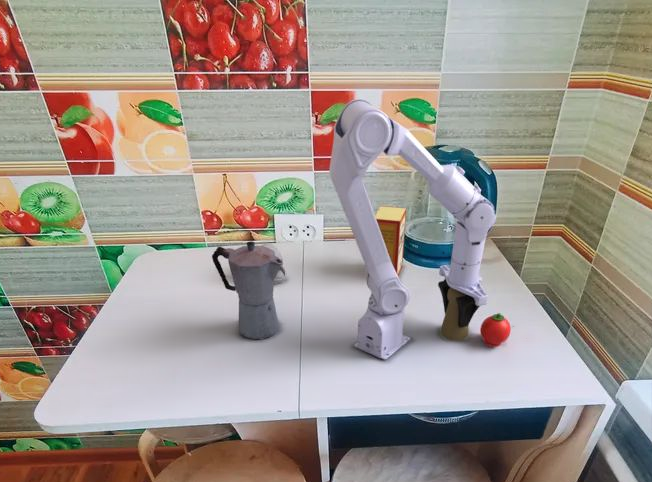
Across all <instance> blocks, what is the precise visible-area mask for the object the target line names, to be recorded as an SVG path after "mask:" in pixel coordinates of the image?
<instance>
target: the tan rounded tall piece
mask: <svg viewBox="0 0 652 482" xmlns="http://www.w3.org/2000/svg"><path fill="white" fill-rule="evenodd" d="M465 295H466V294H465V293H462V292H460V291H458V290H456V289H453V288H451V287H450V288H449V290H448V294H447V297H448V300H449V303H448V307H447V310H446V313H445V312H444V317H443V321H442V324H441V327H440V330H439V334H440V335H441V337H443V338H444V339H445V340H449V341H452V342H460V341H464V340H466V339H467V338H468V337H469V325H470V324H469V325H468V326H465V327H461V328H460V327H459V326H458V304H457V301H456V298H457V297H462V296H465Z"/></svg>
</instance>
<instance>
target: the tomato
mask: <svg viewBox="0 0 652 482" xmlns="http://www.w3.org/2000/svg"><path fill="white" fill-rule="evenodd" d="M479 330H480V335H481V338H482V340H483V342H484V344H485V345H487V346H489V347H494V348H496V347H499V346H501V345H502V343H504V342H506V340H508V338H509V337H510V336H511V331H512V328H511V324H510V322H509V321H508V319H507V318H506V317H505V316H504V315H503V314H501V313H499V312H498V313H495V314H493V315H490V316H488V317H487V318H485V319H484V320H483V321H482V323H481V325H480V329H479Z"/></svg>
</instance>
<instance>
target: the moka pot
mask: <svg viewBox="0 0 652 482" xmlns="http://www.w3.org/2000/svg"><path fill="white" fill-rule="evenodd" d="M220 256H221V257H223V258H224V259H227V261H228V266H229V269H230V274H231V277H232V281H233V284H234V285H231V284H230V282H229V281H228V279H227V278H226V277H227V276H226V274H225V272H224V269H223V267H222V264H221V262H220V260H219V257H220ZM211 258H212V262H213V264H214V267H215V269H216V270H217V273H218V274H219V276H220V278H221V281H222V283H223V285H224V287H225V289H226V290H228V291H232V292H236V294H237V295H238V322H237V323H238V325H237V328H238V332H239V334H241V335H242V336H243V337H244V338H248V339H253V340H262V339H263V340H264V339H268V338H270V337H272V336H274V335H275V334H276V333H277V332H278V331H279V328H280V326H279V324H280V323H279V318H278V314H277V308H276V304H275V303H276V302H275V299H274V291H275V290H274V288H275V284H274V280H275V279H276V278H277V275H278V273H279V271H278V270H279V268H280V266H281V265H283V266H284V260H283V261H282V260H281V259H280V258H278V257H276V256H275V251H273V250H271V249H269V248H266V247H264V246H261V245H256V242H254V241H247V242H246V245H244V246H241V247H238V248H235V249H233V248H229V247H228V248H225V247H222V246H217V248H216V249H215V250H214V251H213V254H211Z"/></svg>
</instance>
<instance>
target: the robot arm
mask: <svg viewBox="0 0 652 482" xmlns="http://www.w3.org/2000/svg"><path fill="white" fill-rule="evenodd" d="M382 154H385V155H386V156H399V157H401V158H402V159H403V160H404V161H405V162H406V163H408V165H410V166H411V167H412V168H413V169H414V170H415V171H416V172H417V173H418V174H420V175H421V176H422V177H423V178H424V179H425V180H427V192H428V194H429V195H430V196H431V197H432V198H433V199H434V200H436V201H437V203H439V205H441V206H442V207H443V208H444V209H445V210H447V212H448V213H450V215H452V217H453V218H454V219H456V220H457V221H456V223H455V224H456V225H455V230H454V237H453V243H452V244H453V245H452V250H451V251H452V252H451V258H450V264H444V265H440V266H439V271H438V275H439V276H440V277H444V279H443V280H441V281H439V282H437V287H438V288H439V291H440V294H441V297H442V302H443V310H444V311H443V312H444V314H445V313H446V310H447V307H448V303H449V300H448V297H447V294H448V290H449V288H450V287H451V288H453V289H456V290H458V291H460V292H462V293H465V294H466V295H465V296H462V297H457V298H456V301H457V304H458V326H459V327H460V328H461V327H465V326H468V325H470V322H471V321H472V319H473V317H474V315H475V313H476V312H477V310H479V308H480V307H483V306H486V305H487V303H488V298H489V294H488V293H486V292H485V291H484V288H483V287H482V285H481V282H482V281H483V278H482V277H481V276H480V271H481V265H482V259H483V255H484V251H485V250H484V249H485V245H486V239H487V236H488V232H489V230H490V229H491V228H492V227H493V225H494V224H495V222H496V220H497V218H498V217H497V215H496V214H495V213H496V210H495V206H494V204H493V203H492V201H490V200H488V199H487V198H486V197H485V196H484V195H482V194H481V192H482V189H481V188H480V186H478V185H476V184H475V185H473V184H472V183H471V182H470V181H469V180H468V178H466V177H465V176H464V175H465V173H466V171H465V170H464V169H463V168H462V167H461V166H459V165H457V166H455V165H453V164H442V165H441V164H440V163H439V162H438V161H437V159H436V158H435V157H434V156H432V154H431V153H430V152H429V151H428V150H427V149H426V148H425V146H423V145H422V144H421V143H420V142H419V140H418V139H417V138H416V137H415V136H414V135H413V134H412V133H411V131H409V130H408V129H407V128H406V127H404V125H401V124H400V123H398V122H397V121H396V120H394V119H393V118H391V117H390V116H388V115H387V114H386V113H385V112H384V111H382V110H380V109H378V108H375V107H374V105H373V104H371V103H370V102H369V101H368V100H366V99H362V98H356V99H353V100H350V101H349V102H348V103H346V104H345V106H344V107H343V108H342V109H341V111H340V113H339V115H338V117H337V119H336V121H335V123H334V124H333V141H332V148H331V156H330V163H329V169H328V170H329V176H330V179H331V182H332V185H333V187H334V189H335V192H336V195H337V197H338V199H339V202H340V204H341V207H342V210H343V212H344V215H345V217H346V219H347V222H348V225H349V228H350V229H351V232H352V235H353V237H354V238H353V239H354V240H355V242H356V246H357V248H358V250H359V253H360V255H361V257H362V260H363V262H364V267H365V271H366V279H365V281H366V286H367V288H368V289H369V290H370V292H371V293H370V296H369V298H368V300H367V301H368V302H367V308H366V311H365V312H364V314H363V315H362V316H361V317H360V318H359V320H358V321H357V322H358V323H357V342H356V343H354V348H356V349H358V350H361V351H364V352H365V353H368V354H370V355H372V356H374V357H377V358H379V359H382V361H383V360H384V361H386V360H388V359H389V358H390V357H391V356H392V355H394V354H395V353H396V352H397V351H399V350H400V349H401V348H402V347H403V346H404V345H406V344H407V343H408V342H409V341H411V337H409V336H407V335H405V334H403V331H404V317H405V308H406V307H407V306H408V304H409V302H410V298H411V297H410V291H409V289H408V288H407V286H405V285H404V283H403V281H402V280H401V279H400V277H399V276H397V273H396V271H395V269H394V267H393V265H392V263H391V260H390V257H389V254H388V252H387V249H386V246H385V243H384V240H383V237H382V234H381V232H380V229H379V226H378V223H377V220H376V217H375V215H376V213H375V211H374V209H373V206H372V203H371V200H370V197H369V195H368V192H367V189H366V187H365V183H364V181H363V180H364V177H365V175H366V173H367V171H368V169H369V167H370V166H371V165H372V163H374V162H375V161H376V160H377V159H378V157H380V156H381V155H382Z"/></svg>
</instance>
